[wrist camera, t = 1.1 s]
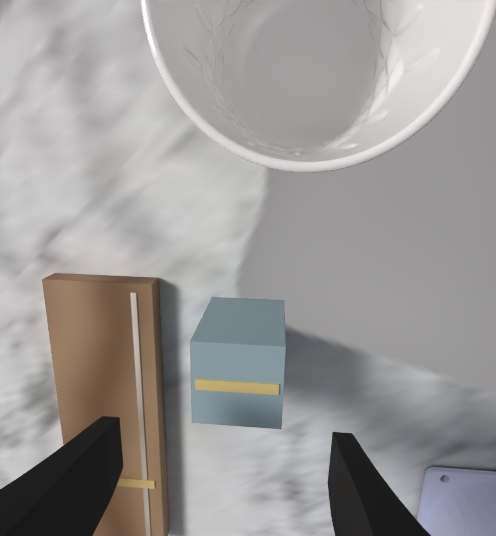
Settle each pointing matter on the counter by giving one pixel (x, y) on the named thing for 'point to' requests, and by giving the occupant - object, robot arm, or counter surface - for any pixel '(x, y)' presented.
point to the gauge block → (239, 363)
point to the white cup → (314, 72)
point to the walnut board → (114, 385)
